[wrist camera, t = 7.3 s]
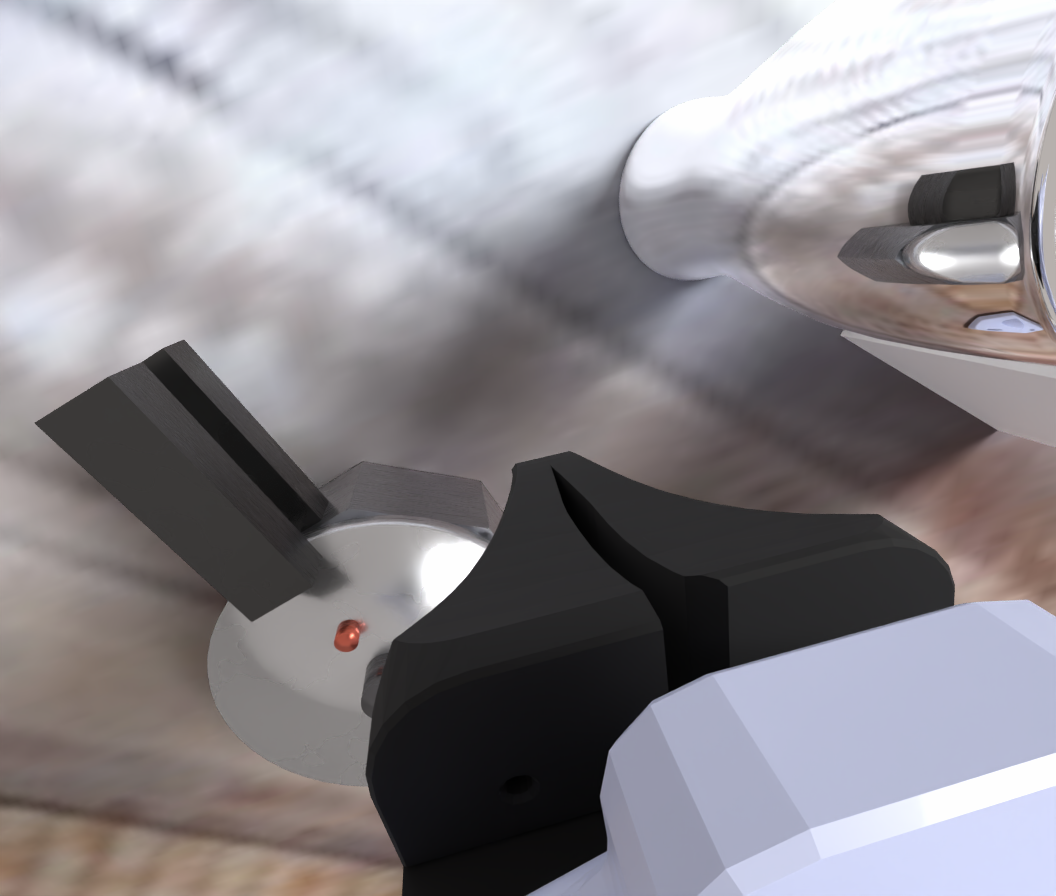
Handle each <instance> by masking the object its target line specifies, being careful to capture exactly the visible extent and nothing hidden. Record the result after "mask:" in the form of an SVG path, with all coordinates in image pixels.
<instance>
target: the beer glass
mask: <svg viewBox="0 0 1056 896" xmlns="http://www.w3.org/2000/svg"><path fill="white" fill-rule="evenodd" d="M619 211H620V218H621V223H622V227H623V230H624V233H625V236H626V238H627V241H628V242H629V244H630V246H631V248H632V249H633V251H634V252H635V254H636V255H637V256H638V257H639V259H640V260H641V261H642V262H643V263H644V264H645V265H647V266H648V267H649V268H650V269H652V270H653V271H655V272H657V273H659V274H661V275H663V276H665V277H668V278H672V279H677V280H687V281H692V280H702V279H707V278H712V277H717V276H721V275H726V276H728V277H730V278H732V279H734V280H736V281H738V282H740V283H742V284H743V285H745V286H747V287H749V288H750V289H752V290H754V291H756V292H758V293H760V294H761V295H763V296H765V297H767V298H769V299H771V300H773V301H775V302H776V303H778V304H780V305H782V306H784V307H786V308H789V309H791V310H793V311H796V312H798V313H800V314H803V315H805V316H807V317H810V318H812V319H814V320H817V321H819V322H821V323H824V324H827V325H830V326H833V327H837V328H840V329H844V330H847V331H851V332H855V333H858V334H862V335H865V336H869V337H872V338H876V339H880V340H884V341H890V342H895V343H900V344H905V345H910V346H916V347H921V348H926V349H931V350H936V351H942V352H949V353H956V354H963V355H970V356H977V357H984V358H990V359H997V360H1005V361H1013V362H1021V363H1029V364H1037V365H1045V366H1053V367H1056V0H836V1H835V2H833V3H832V4H831V5H830V6H828V7H827V8H826V9H825V10H823V11H822V12H821V13H820V14H818V15H817V16H816V17H815V18H814V19H812V20H811V21H810V22H809V23H807V24H806V25H805V26H804V27H802V28H801V29H800V30H799V31H798V32H797V33H795V34H794V35H793V36H792V37H791V38H790V39H789V40H788V41H787V42H786V43H784V44H783V45H782V46H781V47H780V48H779V49H778V50H777V51H776V52H775V53H773V54H772V55H771V56H770V57H769V58H768V59H767V60H766V61H765V62H764V63H763V64H762V65H760V66H759V67H758V68H757V69H756V70H755V71H754V72H753V73H752V74H751V75H750V76H749V77H748V78H747V79H746V80H745V81H744V82H742V83H741V84H740V85H739V86H738V87H737V88H736V89H735V90H733V91H732V92H731V93H730V94H729V95H727V96H721V97H706V98H700V99H694V100H690V101H687V102H684V103H681V104H679V105H677V106H675V107H673V108H671V109H669V110H667V111H666V112H664V113H663V114H661V115H660V116H659V117H658V118H656V119H655V120H654V121H653V122H652V123H651V124H650V125H649V126H648V127H647V128H646V130H645V131H644V132H643V133H642V135H641V136H640V137H639V139H638V140H637V142H636V143H635V145H634V147H633V149H632V150H631V152H630V154H629V157H628V159H627V161H626V164H625V167H624V170H623V174H622V178H621V183H620V190H619Z"/></svg>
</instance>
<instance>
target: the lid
mask: <svg viewBox="0 0 1056 896" xmlns="http://www.w3.org/2000/svg"><path fill="white" fill-rule="evenodd" d="M35 424H36V425H37V426H38V427H39V428H40V429H41V430H42V431H44V432H45V433H46V434H47V435H48V436H49V437H50V438H51V439H52V440H53V441H54V442H56V443H57V444H58V445H59V446H60V447H61V448H62V449H63V450H64V451H65V452H66V453H68V454H69V455H70V456H71V457H72V458H73V459H74V460H75V461H76V462H77V463H78V464H80V465H81V466H82V467H83V468H84V469H85V470H86V471H87V472H88V473H89V474H90V475H92V476H93V477H94V478H95V479H96V480H97V481H98V482H99V483H100V484H101V485H102V486H104V487H105V488H106V489H107V490H108V491H109V492H110V493H111V494H112V495H113V496H114V497H116V498H117V499H118V500H119V501H120V502H121V503H122V504H123V505H124V506H125V507H126V508H128V509H129V510H130V511H131V512H132V513H133V514H134V515H135V516H136V517H137V518H138V519H140V520H141V521H142V522H143V523H144V524H145V525H146V526H147V527H148V528H149V529H150V530H151V531H153V532H154V533H155V534H156V535H157V536H158V537H159V538H160V539H161V540H162V541H163V542H165V543H166V544H167V545H168V546H169V547H170V548H171V549H172V550H173V551H174V552H175V553H177V554H178V555H179V556H180V557H181V558H182V559H183V560H184V561H185V562H186V563H187V564H189V565H190V566H191V567H192V568H193V569H194V570H195V571H196V572H197V573H198V574H199V575H201V576H202V577H203V578H204V579H205V580H206V581H207V582H208V583H209V584H210V585H211V586H213V587H214V588H215V589H216V590H217V591H218V592H219V593H220V594H221V595H222V596H223V597H225V598H226V599H227V600H228V602H227V604H226V606H225V607H224V609H223V611H222V613H221V614H220V616H219V618H218V620H217V623H216V625H215V628H214V631H213V633H212V636H211V639H210V645H209V650H208V656H207V673H208V679H209V685H210V690H211V693H212V696H213V698H214V701H215V704H216V706H217V709H218V710H219V712H220V714H221V715H222V717H223V719H224V720H225V722H226V724H227V725H228V726H229V727H230V728H231V730H232V731H233V732H234V733H235V734H236V735H237V737H238V738H239V739H240V740H242V741H243V742H244V743H245V744H246V745H247V746H248V747H249V748H251V749H252V750H253V751H254V752H256V753H257V754H259V755H260V756H262V757H263V758H265V759H266V760H268V761H270V762H272V763H274V764H276V765H277V766H279V767H281V768H283V769H285V770H288V771H290V772H293V773H296V774H298V775H301V776H304V777H307V778H311V779H315V780H319V781H322V782H328V783H334V784H340V785H350V786H368V783H367V779H366V775H365V772H366V764H367V755H368V746H369V737H370V728H371V720H372V712H373V707H374V703H375V698H376V694H377V690H378V687H379V683H380V680H381V676H382V672H383V669H384V665H385V662H386V659H387V656H388V653H389V650H390V647H391V644H392V641H393V640H394V639H395V638H396V637H397V636H399V635H400V634H402V633H403V632H404V631H406V630H407V629H408V628H409V627H411V626H412V625H413V624H415V623H416V622H417V621H418V620H420V619H421V618H422V617H424V616H425V615H426V614H428V613H429V612H430V611H431V610H432V609H434V608H435V607H436V606H437V605H438V604H439V603H440V602H441V601H443V600H444V599H445V598H446V597H447V596H448V595H449V594H450V593H451V592H452V591H453V590H454V589H455V588H456V587H457V586H458V585H459V584H460V583H461V582H462V580H463V579H464V578H465V577H466V576H467V575H468V573H469V572H470V571H471V570H472V568H473V567H474V566H475V564H476V563H477V561H478V560H479V559H480V557H481V556H482V554H483V553H484V551H485V549H486V548H487V546H488V544H489V543H490V540H489V539H487V538H485V537H483V536H481V535H479V534H477V533H475V532H473V531H471V530H469V529H466V528H463V527H460V526H457V525H454V524H451V523H449V522H445V521H440V520H435V519H431V518H426V517H417V516H408V515H374V516H366V517H358V518H351V519H347V520H343V521H339V522H335V523H331V524H327V525H325V526H322V527H319V528H316V529H314V530H311V531H308V532H306V533H304V534H301V533H300V532H299V530H298V529H297V528H296V527H295V526H294V525H293V524H292V523H291V522H290V521H289V520H288V519H287V518H286V516H285V515H284V514H283V513H282V512H281V511H280V510H279V509H278V508H277V507H276V506H275V505H274V503H273V502H272V501H271V500H270V499H269V498H268V497H267V496H266V495H265V494H264V493H263V492H262V491H261V489H260V488H259V487H258V486H257V485H256V484H255V483H254V482H253V481H252V480H251V479H250V478H249V477H248V475H247V474H246V473H245V472H244V471H243V470H242V469H241V468H240V467H239V466H238V465H237V464H236V463H235V461H234V460H233V459H232V458H231V457H230V456H229V455H228V454H227V453H226V452H225V451H224V450H223V448H222V447H221V446H220V445H219V444H218V443H217V442H216V441H215V440H214V439H213V438H212V437H211V436H210V434H209V433H208V432H207V431H206V430H205V429H204V428H203V427H202V426H201V425H200V424H199V423H198V422H197V420H196V419H195V418H194V417H193V416H192V415H191V414H190V413H189V412H188V411H187V410H186V409H185V408H184V406H183V405H182V404H181V403H180V402H179V401H178V400H177V399H176V398H175V397H174V396H173V395H172V394H171V392H170V391H169V390H168V389H167V388H166V387H165V386H164V385H163V384H162V383H161V382H160V381H159V379H158V378H157V377H156V376H155V375H154V374H153V373H152V372H151V371H150V370H149V369H148V368H147V367H146V365H145V364H144V363H143V362H141V363H139V364H137V365H134V366H132V367H130V368H128V369H125V370H123V371H121V372H118V373H116V374H114V375H111V376H109V377H107V378H106V379H104V380H103V381H101V382H99V383H98V384H96V385H94V386H93V387H91V388H90V389H88V390H86V391H85V392H83V393H82V394H80V395H78V396H77V397H75V398H74V399H72V400H70V401H69V402H67V403H66V404H64V405H62V406H61V407H59V408H58V409H56V410H54V411H53V412H51V413H50V414H48V415H46V416H45V417H43V418H42V419H40V420H38V421H37V422H35Z"/></svg>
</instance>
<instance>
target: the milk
mask: <svg viewBox="0 0 1056 896" xmlns="http://www.w3.org/2000/svg"><path fill="white" fill-rule="evenodd" d="M841 336H842V337H844V338H845V339H847V340H849V341H850V342H852V343H854V344H855V345H857V346H859V347H860V348H862V349H864V350H865V351H867V352H869V353H870V354H872V355H874V356H875V357H877V358H879V359H880V360H882V361H884V362H885V363H887V364H889V365H890V366H892V367H894V368H895V369H897V370H899V371H900V372H902V373H904V374H905V375H907V376H909V377H910V378H912V379H914V380H915V381H917V382H918V383H920V384H922V385H923V386H925V387H927V388H928V389H930V390H932V391H933V392H935V393H937V394H938V395H940V396H942V397H943V398H945V399H947V400H948V401H950V402H952V403H953V404H955V405H957V406H958V407H960V408H962V409H963V410H965V411H967V412H968V413H970V414H972V415H973V416H975V417H977V418H978V419H980V420H982V421H983V422H985V423H987V424H988V425H990V426H992V427H993V428H995V429H996V430H998V431H1002V432H1005V433H1009V434H1012V435H1015V436H1019V437H1022V438H1025V439H1029V440H1032V441H1035V442H1039V443H1042V444H1046V445H1049V446H1052V447H1056V367H1053V366H1045V365H1037V364H1029V363H1021V362H1013V361H1005V360H997V359H990V358H984V357H977V356H970V355H963V354H956V353H949V352H942V351H936V350H931V349H926V348H921V347H916V346H910V345H905V344H900V343H895V342H890V341H884V340H880V339H876V338H872V337H869V336H865V335H862V334H858V333H855V332H851V331H847V330H843V331H842V333H841Z"/></svg>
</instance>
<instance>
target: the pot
mask: <svg viewBox="0 0 1056 896" xmlns="http://www.w3.org/2000/svg"><path fill="white" fill-rule="evenodd" d="M143 363H144V364H145V365H146V367H147V368H148V369H149V370H150V371H151V372H152V373H153V374H154V375H155V376H156V377H157V378H158V379H159V381H160V382H161V383H162V384H163V385H164V386H165V387H166V388H167V389H168V390H169V391H170V392H171V394H172V395H173V396H174V397H175V398H176V399H177V400H178V401H179V402H180V403H181V404H182V405H183V406H184V408H185V409H186V410H187V411H188V412H189V413H190V414H191V415H192V416H193V417H194V418H195V419H196V420H197V422H198V423H199V424H200V425H201V426H202V427H203V428H204V429H205V430H206V431H207V432H208V433H209V434H210V436H211V437H212V438H213V439H214V440H215V441H216V442H217V443H218V444H219V445H220V446H221V447H222V448H223V450H224V451H225V452H226V453H227V454H228V455H229V456H230V457H231V458H232V459H233V460H234V461H235V463H236V464H237V465H238V466H239V467H240V468H241V469H242V470H243V471H244V472H245V473H246V474H247V475H248V477H249V478H250V479H251V480H252V481H253V482H254V483H255V484H256V485H257V486H258V487H259V488H260V489H261V491H262V492H263V493H264V494H265V495H266V496H267V497H268V498H269V499H270V500H271V501H272V502H273V503H274V505H275V506H276V507H277V508H278V509H279V510H280V511H281V512H282V513H283V514H284V515H285V516H286V518H287V519H288V520H289V521H290V522H291V523H292V524H293V525H294V526H295V527H296V528H297V529H298V530H299V532H300V533H301V534H304V533H306V532H308V531H311V530H314V529H316V528H319V527H322V526H325V525H327V524H331V523H335V522H339V521H343V520H347V519H351V518H358V517H366V516H374V515H408V516H417V517H426V518H431V519H435V520H440V521H445V522H449V523H451V524H454V525H457V526H460V527H463V528H466V529H469V530H471V531H473V532H475V533H477V534H479V535H481V536H483V537H485V538H487V539H489V540H490V541H491V539H492V537H493V535H494V533H495V531H496V529H497V527H498V524H499V522H500V520H501V517H502V515H503V512H502V510H501V509H500V508H499V506H498V505H497V503H496V502H495V501H494V499H493V498H492V496H491V495H490V494H489V492H488V491H487V489H486V488H485V487H484V485H483V484H482V482H481V481H477V480H471V479H465V478H459V477H453V476H447V475H441V474H435V473H429V472H423V471H417V470H411V469H404V468H398V467H392V466H386V465H380V464H374V463H368V462H361V463H360V464H358V465H357V466H355V467H353V468H352V469H350V470H349V471H347V472H345V473H344V474H342V475H340V476H339V477H337V478H336V479H334V480H332V481H331V482H329V483H327V484H326V485H324V486H323V487H321V488H319V489H317V487H316V486H315V485H314V484H313V483H312V482H311V481H310V480H309V479H308V477H307V476H306V475H305V474H304V473H303V472H302V471H301V470H300V468H299V467H298V466H297V465H296V464H295V463H294V462H293V461H292V460H291V458H290V457H289V456H288V455H287V454H286V453H285V452H284V451H283V449H282V448H281V447H280V446H279V445H278V444H277V443H276V442H275V441H274V439H273V438H272V437H271V436H270V435H269V434H268V433H267V432H266V430H265V429H264V428H263V427H262V426H261V425H260V424H259V423H258V422H257V420H256V419H255V418H254V417H253V416H252V415H251V414H250V413H249V412H248V410H247V409H246V408H245V407H244V406H243V405H242V404H241V403H240V401H239V400H238V399H237V398H236V397H235V396H234V395H233V394H232V393H231V391H230V390H229V389H228V388H227V387H226V386H225V385H224V384H223V382H222V381H221V380H220V379H219V378H218V377H217V376H216V375H215V374H214V372H213V371H212V370H211V369H210V368H209V367H208V366H207V365H206V363H205V362H204V361H203V360H202V359H201V358H200V357H199V356H198V355H197V353H196V352H195V351H194V350H193V349H192V348H191V347H190V346H189V345H188V343H187V342H186V341H185V340H182V341H179V342H177V343H174V344H172V345H170V346H167V347H165V348H163V349H161V350H160V351H158V352H157V353H155V354H153V355H152V356H150V357H149V358H147V359H146V360H144V361H143ZM227 602H228V600H227Z"/></svg>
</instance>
